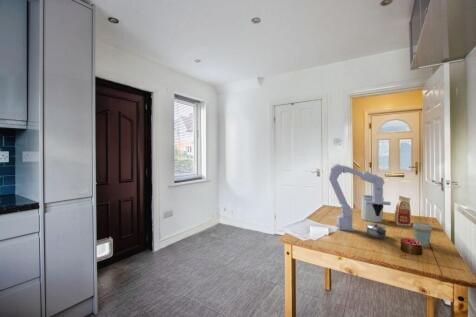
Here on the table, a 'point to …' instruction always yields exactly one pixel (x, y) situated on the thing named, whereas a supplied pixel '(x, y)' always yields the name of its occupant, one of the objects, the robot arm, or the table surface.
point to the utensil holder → (370, 210)
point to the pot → (375, 234)
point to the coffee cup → (422, 233)
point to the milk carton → (403, 211)
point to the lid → (377, 228)
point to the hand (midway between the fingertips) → (377, 215)
